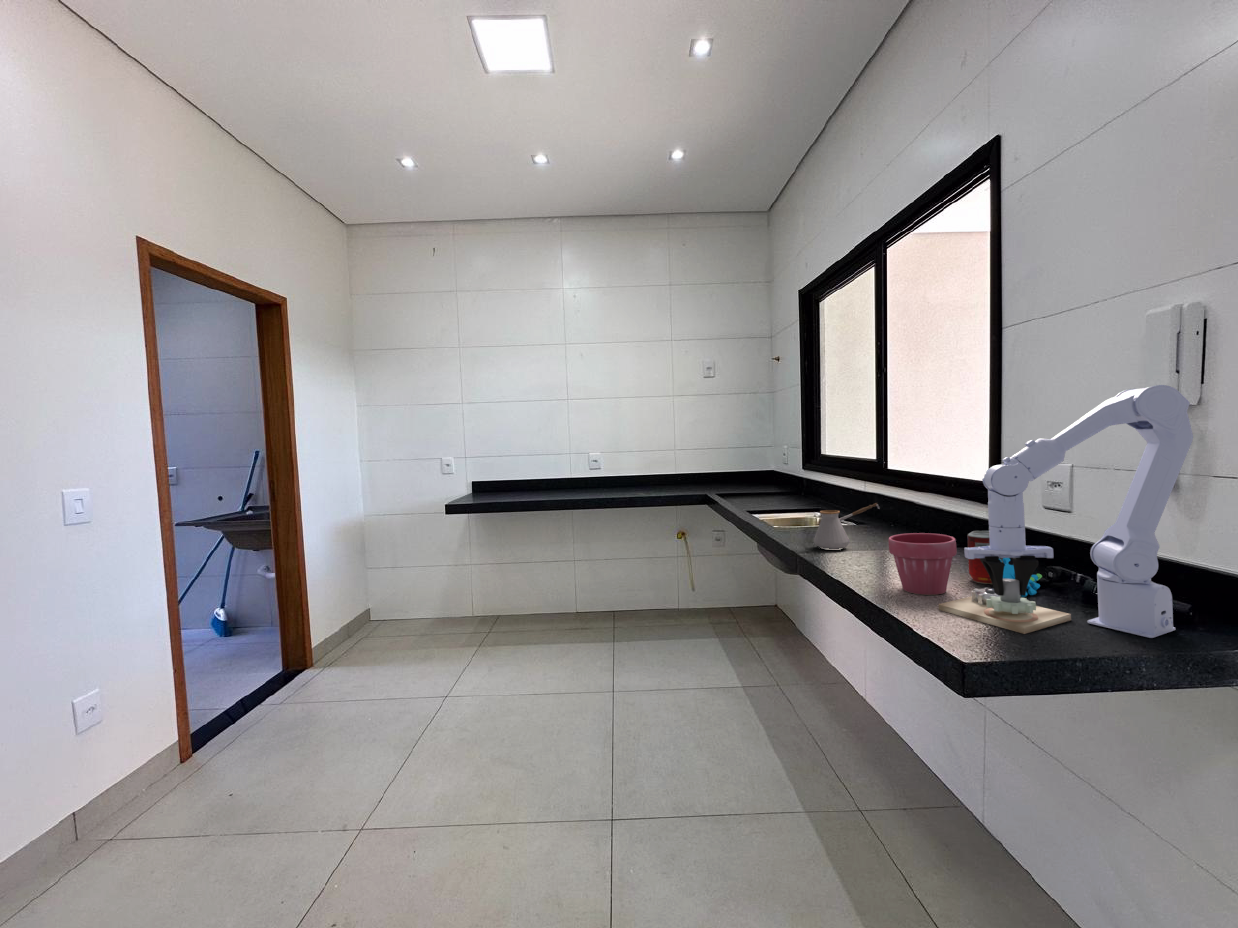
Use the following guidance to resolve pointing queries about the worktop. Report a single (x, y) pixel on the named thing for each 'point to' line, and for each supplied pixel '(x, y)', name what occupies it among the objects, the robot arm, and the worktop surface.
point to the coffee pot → (834, 529)
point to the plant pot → (923, 561)
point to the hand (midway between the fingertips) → (1009, 594)
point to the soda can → (975, 565)
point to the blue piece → (1010, 574)
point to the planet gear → (1011, 599)
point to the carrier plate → (1005, 616)
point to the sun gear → (982, 595)
